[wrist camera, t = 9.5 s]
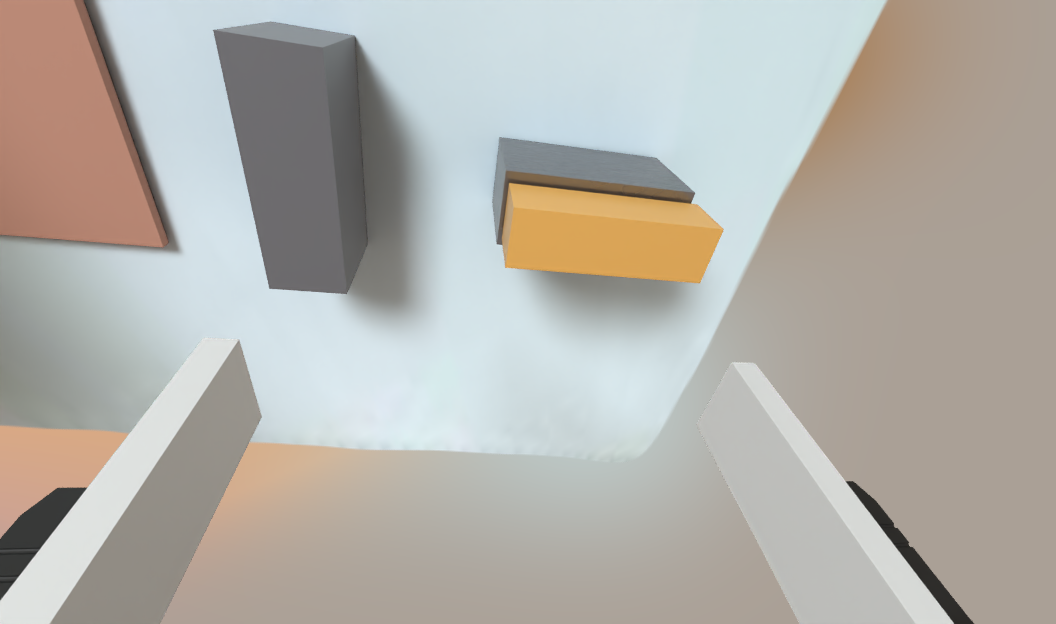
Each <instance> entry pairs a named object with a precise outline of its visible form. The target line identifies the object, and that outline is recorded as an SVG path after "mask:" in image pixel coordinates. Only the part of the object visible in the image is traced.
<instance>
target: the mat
mask: <svg viewBox="0 0 1056 624" xmlns="http://www.w3.org/2000/svg"><path fill="white" fill-rule="evenodd" d="M0 235H11V236H24V237H37V238H50V239H63V240H76V241H88V242H101V243H114V244H127V245H140V246H152V247H164V246H166V245H167V244H168V243H169V242H168V239H167V236H166V234H165V231H164V228H163V225H162V222H161V219H160V217H159V214H158V211H157V208H156V205H155V202H154V200H153V197H152V194H151V191H150V188H149V185H148V182H147V180H146V177H145V174H144V171H143V168H142V165H141V163H140V160H139V157H138V154H137V151H136V148H135V146H134V143H133V140H132V137H131V134H130V131H129V129H128V126H127V123H126V120H125V117H124V114H123V111H122V109H121V106H120V103H119V100H118V97H117V94H116V92H115V89H114V86H113V83H112V80H111V77H110V75H109V72H108V69H107V66H106V63H105V60H104V57H103V55H102V52H101V49H100V46H99V43H98V40H97V38H96V35H95V32H94V29H93V26H92V23H91V21H90V18H89V15H88V12H87V9H86V6H85V4H84V1H83V0H0Z"/></svg>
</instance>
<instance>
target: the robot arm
mask: <svg viewBox="0 0 1056 624" xmlns="http://www.w3.org/2000/svg"><path fill="white" fill-rule="evenodd" d="M261 417H262V416H261V413H260V409H259V406H258V403H257V399H256V396H255V392H254V389H253V385H252V382H251V379H250V375H249V372H248V368H247V365H246V362H245V358H244V355H243V351H242V348H241V344H240V341H239V339H220V338H203V339H202V340H201V341H200V343H199V344H198V345H197V347H196V348H195V349H194V351H193V352H192V353H191V354H190V356H189V357H188V358H187V360H186V361H185V362H184V363H183V365H182V366H181V367H180V369H179V370H178V371H177V373H176V374H175V375H174V376H173V378H172V379H171V380H170V382H169V383H168V384H167V385H166V387H165V388H164V389H163V391H162V392H161V393H160V395H159V396H158V397H157V398H156V400H155V401H154V402H153V404H152V405H151V406H150V408H149V409H148V410H147V411H146V413H145V414H144V415H143V417H142V418H141V419H140V420H139V422H138V423H137V424H136V426H135V427H134V428H133V430H132V431H131V432H130V433H129V435H128V436H127V437H126V439H125V440H124V442H123V443H122V444H121V445H120V446H119V448H118V449H117V450H116V452H115V453H114V454H113V455H112V457H111V458H110V459H109V461H108V462H107V463H106V464H105V466H104V467H103V468H102V470H101V471H100V472H99V474H98V475H97V476H96V477H95V479H94V480H93V481H92V483H91V484H90V485H89V487H88V488H57V489H55V490H54V491H53V492H51V493H50V494H49V495H47V496H46V497H45V498H43V499H42V500H41V501H39V502H38V503H37V504H35V505H34V506H33V507H31V508H30V509H29V510H27V511H26V512H24V513H23V514H22V515H21V516H20V517H19V518H18V519H17V520H16V521H15V522H14V524H13V525H12V526H11V527H10V528H9V529H8V530H7V532H6V533H5V534H4V535H3V536H2V538H1V539H0V624H160V623H161V620H162V619H163V616H164V614H165V612H166V610H167V608H168V606H169V604H170V602H171V600H172V598H173V596H174V594H175V592H176V590H177V588H178V586H179V584H180V582H181V580H182V578H183V576H184V574H185V572H186V569H187V568H188V566H189V564H190V562H191V560H192V558H193V556H194V553H195V551H196V549H197V547H198V545H199V543H200V541H201V539H202V537H203V535H204V533H205V531H206V529H207V527H208V525H209V523H210V521H211V519H212V517H213V515H214V513H215V511H216V509H217V507H218V505H219V503H220V501H221V498H222V497H223V495H224V492H225V490H226V488H227V486H228V484H229V482H230V480H231V478H232V476H233V474H234V472H235V470H236V468H237V466H238V464H239V462H240V460H241V458H242V456H243V454H244V452H245V450H246V448H247V446H248V444H249V442H250V440H251V438H252V436H253V433H254V431H255V429H256V427H257V425H258V423H259V421H260V419H261ZM696 425H697V427H698V429H699V431H700V433H701V435H702V437H703V439H704V441H705V443H706V444H707V447H708V448H709V450H710V452H711V454H712V456H713V458H714V460H715V462H716V464H717V466H718V468H719V469H720V472H721V473H722V475H723V477H724V479H725V481H726V483H727V485H728V487H729V489H730V491H731V493H732V495H733V496H734V498H735V500H736V502H737V504H738V506H739V508H740V510H741V512H742V514H743V516H744V517H745V519H746V521H747V523H748V525H749V527H750V529H751V531H752V533H753V535H754V537H755V539H756V541H757V543H758V545H759V546H760V548H761V550H762V552H763V554H764V556H765V558H766V560H767V562H768V564H769V566H770V567H771V570H772V571H773V573H774V575H775V577H776V579H777V581H778V583H779V585H780V587H781V589H782V591H783V592H784V594H785V596H786V598H787V600H788V602H789V604H790V606H791V608H792V610H793V612H794V614H795V616H796V618H797V620H798V621H799V623H800V624H974V623H973V622H972V621H971V620H970V618H969V617H968V616H967V615H966V614H965V612H964V611H963V610H962V609H961V607H960V606H959V605H958V604H957V602H956V601H955V600H954V598H952V596H951V595H950V593H949V592H948V591H947V590H946V588H945V587H944V586H943V585H942V583H941V582H940V581H939V580H938V578H937V577H936V576H935V575H934V574H933V572H932V571H931V570H930V568H929V567H928V566H927V564H925V562H924V561H923V559H922V558H921V557H920V556H919V554H918V553H917V552H916V551H915V549H914V548H913V547H910V546H909V544H908V543H909V542H908V541H907V539H906V538H905V537H904V536H903V534H902V533H901V532H900V531H899V529H898V528H895V527H894V523H893V522H892V520H891V519H890V518H889V517H888V515H887V514H886V513H885V512H884V510H883V509H882V508H881V507H880V505H879V504H878V503H877V502H876V501H875V500H874V499H873V498H872V497H871V496H870V495H868V494H867V493H866V492H865V491H864V490H863V489H861V488H860V487H859V486H858V485H857V484H856V483H854V482H853V481H847V482H846V481H845V480H844V479H843V478H842V476H841V475H840V474H839V472H838V471H837V470H836V469H835V467H834V466H833V465H832V463H831V462H830V461H829V460H828V458H827V457H826V455H825V454H824V453H823V452H822V450H821V449H820V448H819V446H818V445H817V444H816V442H815V441H814V440H813V438H812V437H811V436H810V434H809V433H808V432H807V431H806V429H805V428H804V427H803V425H802V424H801V423H800V421H799V420H798V419H797V417H796V416H795V415H794V414H793V412H792V411H791V410H790V408H789V407H788V406H787V405H786V403H785V402H784V401H783V399H782V398H781V397H780V395H779V394H778V393H777V391H776V390H775V389H774V387H773V386H772V385H771V384H770V382H769V381H768V380H767V378H766V377H765V376H764V375H763V373H762V372H761V370H760V369H759V368H758V367H757V365H756V364H755V363H739V362H731V364H730V366H729V367H728V369H727V371H726V373H725V374H724V376H723V378H722V380H721V382H720V383H719V385H718V387H717V389H716V391H715V392H714V394H713V396H712V398H711V399H710V402H709V403H708V405H707V407H706V408H705V410H704V412H703V414H702V416H701V417H700V419H699V421H698V423H697V424H696Z"/></svg>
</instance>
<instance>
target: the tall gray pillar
mask: <svg viewBox="0 0 1056 624" xmlns="http://www.w3.org/2000/svg"><path fill="white" fill-rule="evenodd" d="M213 31H214V36H215V40H216V45H217V49H218V54H219V59H220V63H221V68H222V72H223V77H224V82H225V86H226V91H227V95H228V100H229V105H230V109H231V114H232V118H233V123H234V128H235V132H236V137H237V141H238V146H239V151H240V155H241V160H242V164H243V169H244V174H245V178H246V183H247V187H248V192H249V197H250V201H251V206H252V211H253V215H254V220H255V224H256V229H257V234H258V238H259V243H260V247H261V252H262V257H263V261H264V266H265V270H266V275H267V280H268V284H269V289H283V290H298V291H312V292H326V293H341V294H347V292H348V290H349V288H350V285H351V283H352V280H353V278H354V276H355V273H356V271H357V268H358V266H359V264H360V261H361V259H362V256H363V254H364V252H365V249H366V247H367V228H366V211H365V195H364V178H363V162H362V146H361V129H360V113H359V96H358V80H357V63H356V47H355V36H354V35H348V34H342V33H336V32H330V31H324V30H318V29H312V28H306V27H300V26H294V25H288V24H282V23H276V22H265V23H258V24H251V25H244V26H237V27H231V28H224V29H217V30H213Z"/></svg>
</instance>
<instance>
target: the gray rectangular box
mask: <svg viewBox="0 0 1056 624" xmlns="http://www.w3.org/2000/svg"><path fill="white" fill-rule="evenodd" d="M509 183H514V184H522V185H531V186H540V187H549V188H557V189H566V190H575V191H583V192H592V193H601V194H610V195H618V196H627V197H636V198H645V199H653V200H662V201H671V202H680V203H688V204H691V202H692V200H693V197H694V194H695V192H694V191H692V190H691V189H690V188H689V187H688V186H687V185H686V184H685V183H684V182H682V181H681V180H680V179H679V178H678V177H677V176H676V175H675V174H674V173H672V172H671V171H670V170H669V169H668V168H667V167H666V166H665V165H664V164H662V163H661V162H660V161H659V160H658V159H657V158H653V157H645V156H637V155H630V154H622V153H615V152H607V151H600V150H592V149H585V148H577V147H569V146H562V145H554V144H547V143H539V142H532V141H524V140H516V139H509V138H501V137H499V146H498V155H497V164H496V173H495V182H494V191H493V200H492V203H493V212H494V222H495V232H496V242H497V244H500V245H502V233H503V225H504V218H505V210H506V202H507V195H508V187H509Z"/></svg>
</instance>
